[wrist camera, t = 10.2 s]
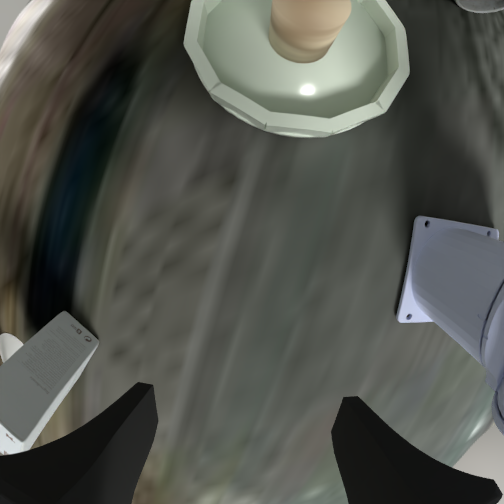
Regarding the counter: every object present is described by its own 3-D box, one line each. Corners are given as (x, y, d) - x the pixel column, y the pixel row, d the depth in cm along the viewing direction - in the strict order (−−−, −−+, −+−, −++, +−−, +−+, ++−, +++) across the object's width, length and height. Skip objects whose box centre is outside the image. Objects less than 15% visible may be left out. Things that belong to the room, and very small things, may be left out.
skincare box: (64, 307, 20) (-33, 386, 8) (104, 342, 21) (24, 443, 9) (46, 349, 21) (-29, 425, 10) (81, 380, 22) (17, 469, 10)
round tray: (385, -5, 14) (397, -20, 12) (393, 153, 17) (412, 150, 15) (206, -28, 14) (201, -47, 12) (182, 131, 17) (171, 124, 15)
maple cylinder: (330, 21, 15) (350, -17, 10) (328, 68, 15) (351, 35, 11) (271, 11, 14) (276, -31, 10) (265, 58, 15) (269, 20, 11)
